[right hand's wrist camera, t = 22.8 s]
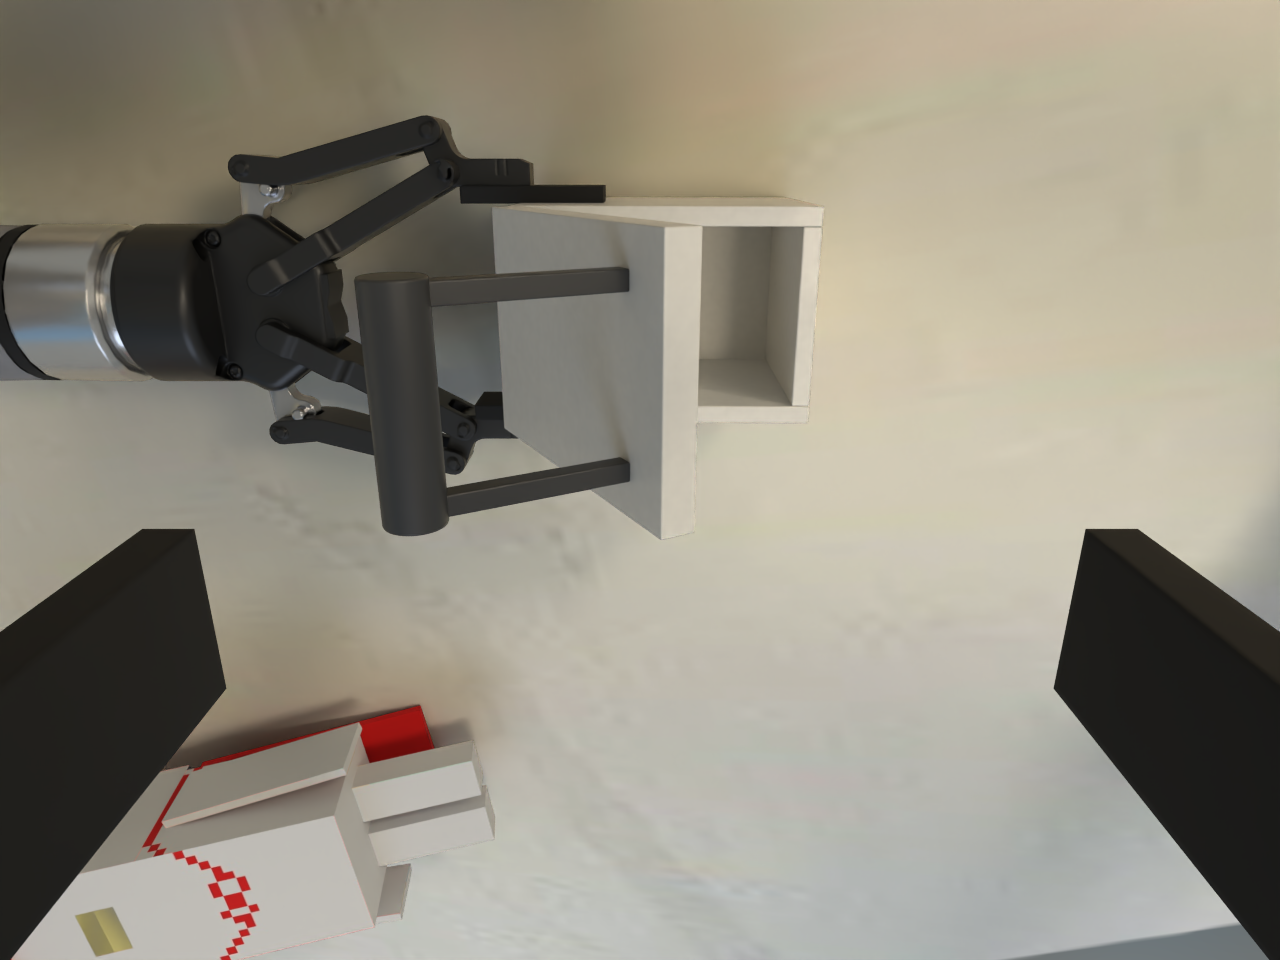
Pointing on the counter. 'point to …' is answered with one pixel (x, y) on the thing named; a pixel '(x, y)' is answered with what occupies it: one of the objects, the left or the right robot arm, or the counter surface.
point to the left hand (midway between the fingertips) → (605, 304)
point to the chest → (745, 298)
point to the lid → (550, 369)
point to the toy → (271, 847)
